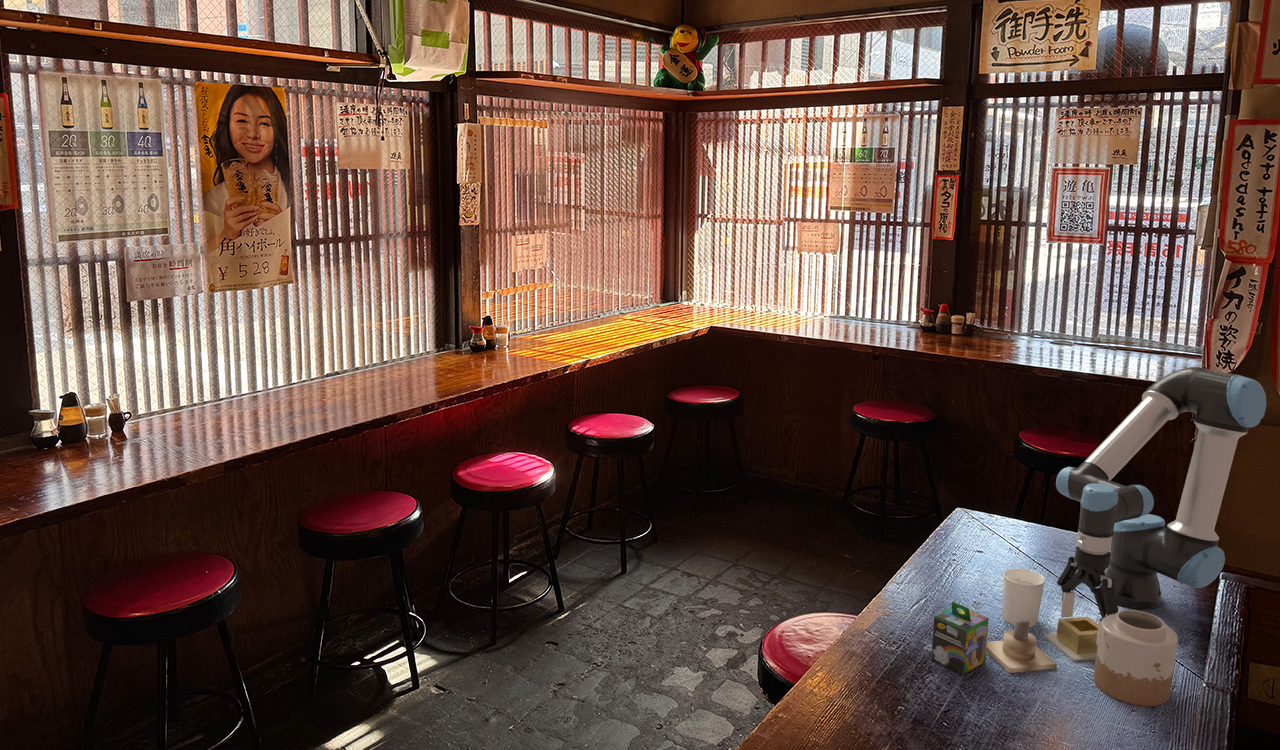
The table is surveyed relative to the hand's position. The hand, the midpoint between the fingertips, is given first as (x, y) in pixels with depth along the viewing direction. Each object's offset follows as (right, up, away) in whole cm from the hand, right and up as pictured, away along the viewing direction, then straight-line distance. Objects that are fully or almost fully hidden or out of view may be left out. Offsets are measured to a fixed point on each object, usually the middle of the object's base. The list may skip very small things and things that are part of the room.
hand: (1083, 630), depth 227 cm
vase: (+3, -9, -16) cm, 19 cm away
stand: (-18, -5, -4) cm, 19 cm away
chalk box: (-33, -6, -6) cm, 34 cm away
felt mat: (0, -4, +1) cm, 4 cm away
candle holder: (-10, -1, +14) cm, 17 cm away
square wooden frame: (0, -4, +1) cm, 4 cm away
